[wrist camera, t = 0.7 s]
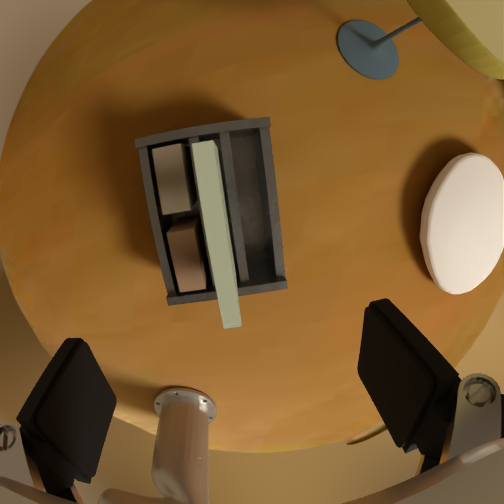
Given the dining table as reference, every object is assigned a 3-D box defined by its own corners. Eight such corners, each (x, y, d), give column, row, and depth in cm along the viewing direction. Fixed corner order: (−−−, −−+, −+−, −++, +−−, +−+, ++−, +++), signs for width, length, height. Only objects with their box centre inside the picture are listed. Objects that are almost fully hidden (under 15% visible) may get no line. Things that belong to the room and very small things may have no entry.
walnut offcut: (208, 263, 39) (205, 288, 31) (187, 266, 39) (180, 292, 31) (200, 214, 37) (193, 228, 29) (178, 217, 37) (166, 233, 29)
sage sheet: (233, 252, 39) (241, 326, 22) (223, 254, 39) (224, 328, 22) (218, 149, 34) (212, 140, 17) (207, 151, 34) (191, 143, 17)
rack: (274, 261, 41) (287, 288, 32) (178, 275, 40) (168, 305, 32) (258, 126, 35) (269, 116, 26) (154, 143, 34) (134, 139, 26)
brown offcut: (197, 199, 36) (190, 210, 29) (175, 203, 36) (162, 214, 28) (189, 146, 34) (180, 143, 26) (167, 151, 34) (152, 149, 26)
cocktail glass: (314, 88, 33) (427, 19, 10) (312, -8, 28) (381, -103, 4) (417, 113, 35) (545, 106, 12) (409, 23, 30) (508, -22, 6)
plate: (523, 211, 38) (471, 315, 45) (503, 203, 44) (453, 300, 51) (481, 122, 29) (412, 265, 35) (453, 119, 35) (387, 248, 41)
